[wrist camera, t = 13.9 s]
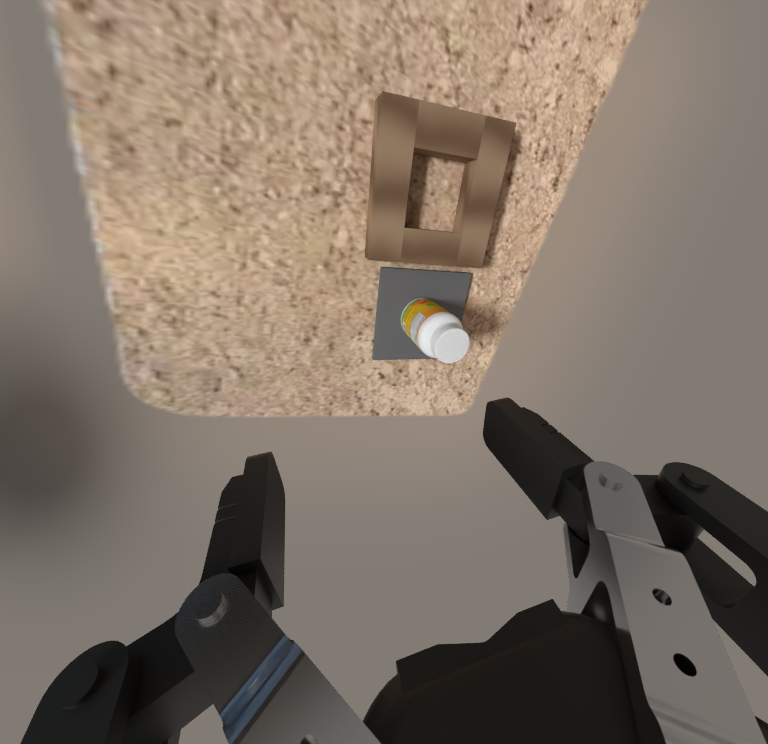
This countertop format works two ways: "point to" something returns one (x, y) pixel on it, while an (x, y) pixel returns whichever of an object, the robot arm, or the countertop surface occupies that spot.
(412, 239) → the walnut socket
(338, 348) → the countertop surface
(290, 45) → the countertop surface
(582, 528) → the robot arm
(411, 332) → the supplement bottle
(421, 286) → the rubber mat
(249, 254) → the countertop surface
